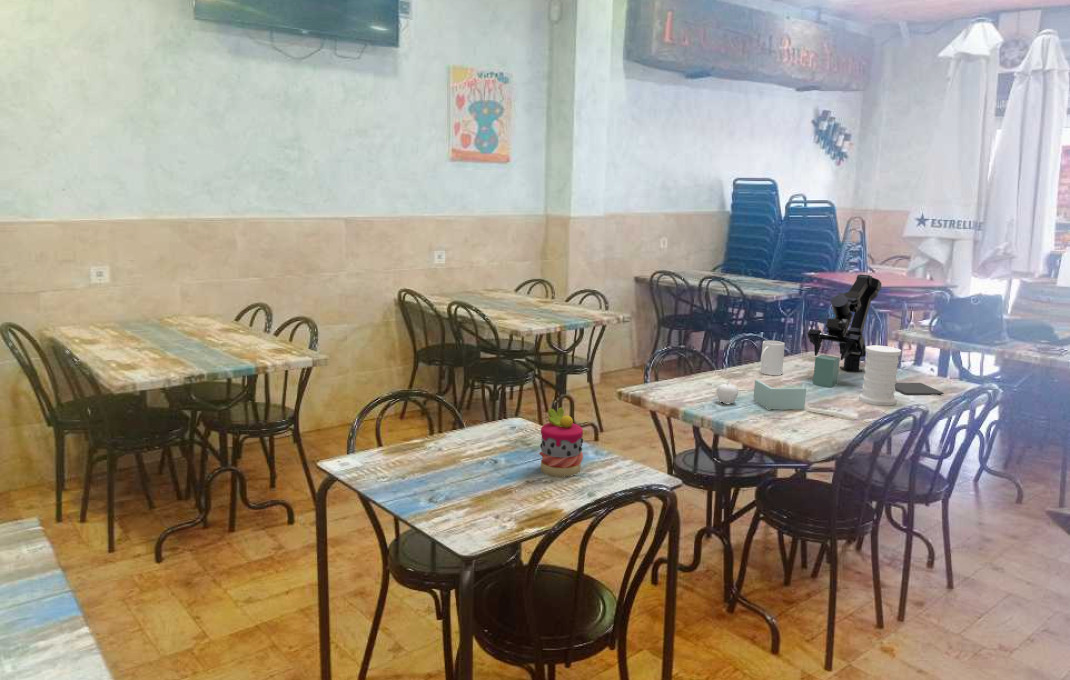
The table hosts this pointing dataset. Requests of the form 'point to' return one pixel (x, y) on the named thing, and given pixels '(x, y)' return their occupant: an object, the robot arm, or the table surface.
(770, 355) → the mug
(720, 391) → the plain white apple
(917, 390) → the mat
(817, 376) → the green block
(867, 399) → the decorative container
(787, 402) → the right angle wall
